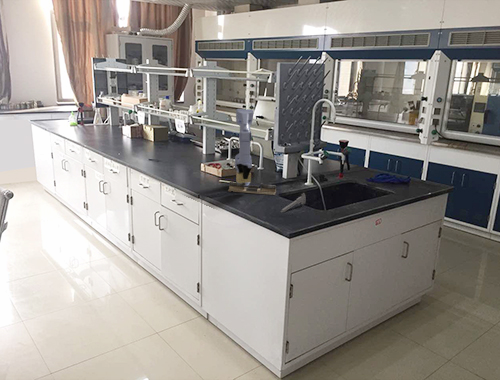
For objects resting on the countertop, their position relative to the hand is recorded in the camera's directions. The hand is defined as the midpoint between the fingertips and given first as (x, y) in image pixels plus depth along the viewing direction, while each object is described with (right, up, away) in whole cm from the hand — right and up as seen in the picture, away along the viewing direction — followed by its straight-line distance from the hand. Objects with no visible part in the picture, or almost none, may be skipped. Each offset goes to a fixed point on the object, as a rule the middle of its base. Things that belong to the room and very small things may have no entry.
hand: (243, 178), depth 226 cm
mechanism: (+5, -7, +5) cm, 10 cm away
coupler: (0, -2, 0) cm, 2 cm away
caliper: (+25, -16, -21) cm, 36 cm away
